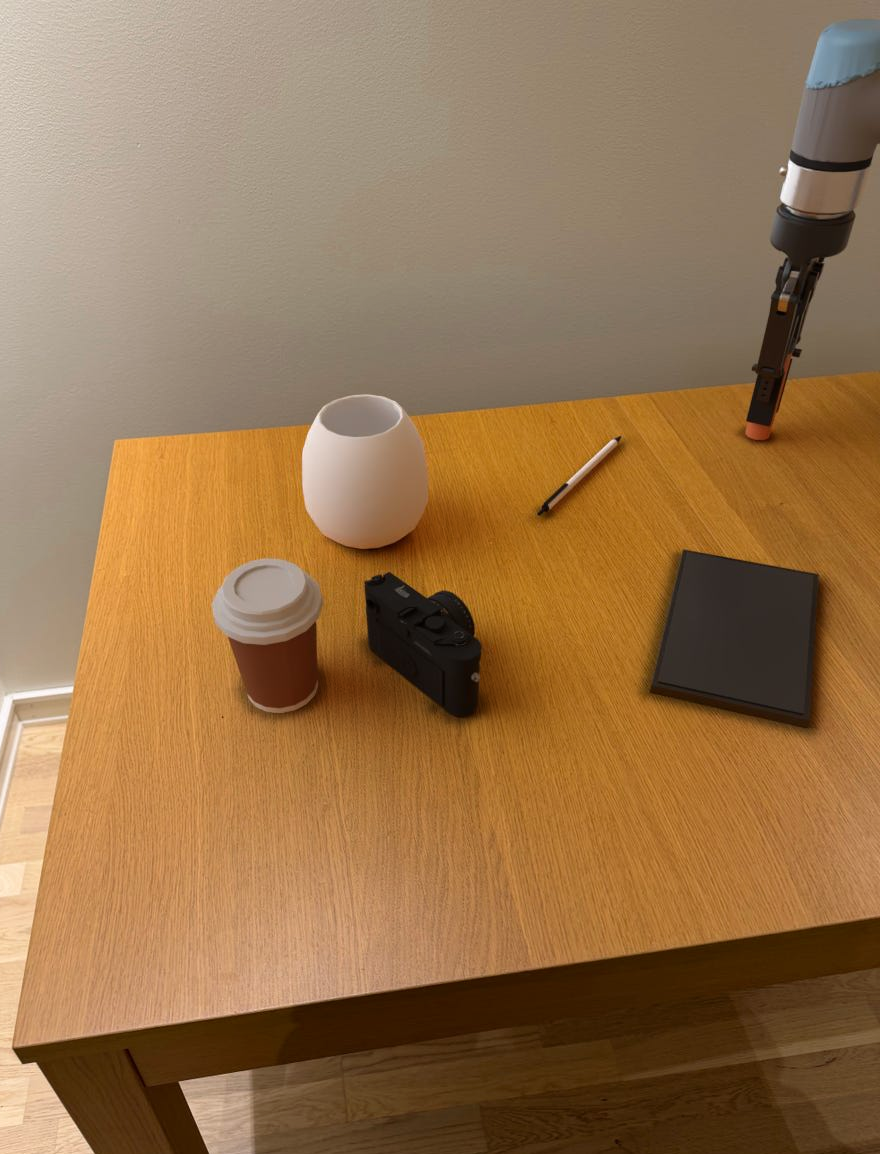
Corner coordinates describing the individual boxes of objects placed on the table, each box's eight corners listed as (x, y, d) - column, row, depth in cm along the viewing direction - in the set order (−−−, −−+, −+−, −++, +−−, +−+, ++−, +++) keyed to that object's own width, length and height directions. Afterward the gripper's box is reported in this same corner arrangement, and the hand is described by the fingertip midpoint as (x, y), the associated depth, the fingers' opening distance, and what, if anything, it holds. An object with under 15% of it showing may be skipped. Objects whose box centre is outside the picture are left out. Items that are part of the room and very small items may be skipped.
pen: (534, 516, 100) (535, 507, 99) (617, 438, 110) (618, 430, 109) (542, 519, 99) (542, 510, 98) (624, 440, 110) (625, 432, 109)
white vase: (284, 521, 101) (268, 411, 91) (381, 477, 106) (375, 369, 97) (354, 581, 93) (344, 467, 84) (454, 530, 98) (455, 418, 89)
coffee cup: (348, 663, 84) (337, 560, 76) (308, 735, 78) (291, 632, 70) (259, 642, 87) (239, 540, 78) (213, 710, 81) (186, 608, 72)
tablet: (681, 556, 94) (683, 548, 93) (816, 581, 90) (819, 573, 90) (649, 692, 80) (651, 683, 80) (806, 728, 77) (810, 719, 76)
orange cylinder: (775, 436, 109) (802, 340, 101) (757, 443, 108) (782, 347, 100) (757, 425, 111) (781, 330, 103) (739, 432, 110) (762, 337, 102)
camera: (519, 688, 81) (525, 621, 76) (461, 730, 78) (462, 663, 73) (412, 609, 89) (410, 544, 84) (355, 645, 86) (349, 579, 81)
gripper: (797, 177, 98) (748, 379, 115) (758, 227, 89) (710, 440, 105) (871, 187, 95) (810, 392, 112) (840, 239, 86) (778, 456, 102)
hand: (762, 415), depth 108 cm, fingers closed on orange cylinder, 3 cm apart
